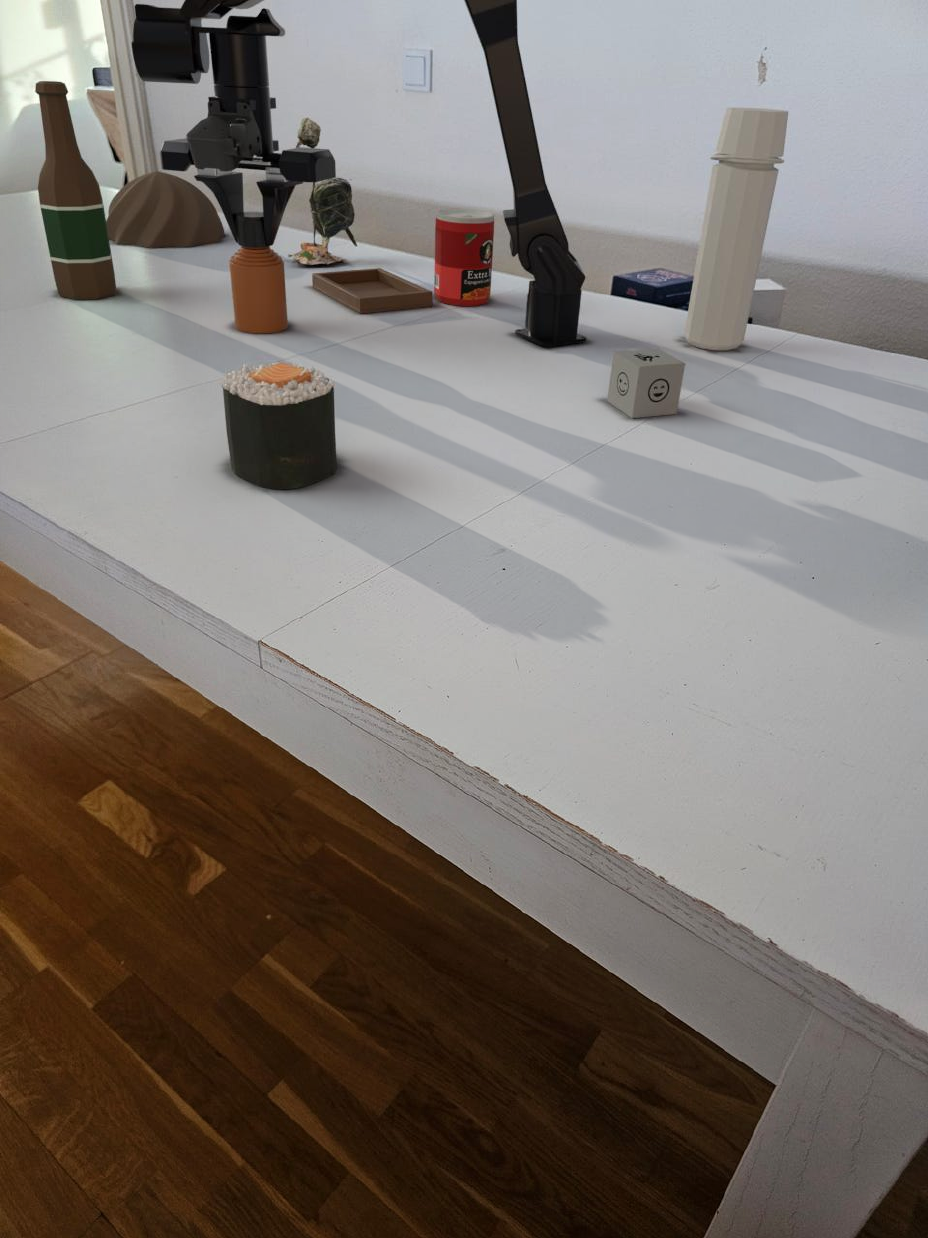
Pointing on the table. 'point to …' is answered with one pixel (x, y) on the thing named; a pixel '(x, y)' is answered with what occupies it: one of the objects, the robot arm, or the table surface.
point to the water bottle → (734, 226)
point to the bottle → (258, 290)
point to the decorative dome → (162, 214)
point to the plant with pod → (325, 206)
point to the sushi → (280, 425)
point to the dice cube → (645, 382)
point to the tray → (371, 290)
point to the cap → (250, 229)
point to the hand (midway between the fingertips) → (254, 243)
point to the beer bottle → (71, 205)
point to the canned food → (463, 256)
